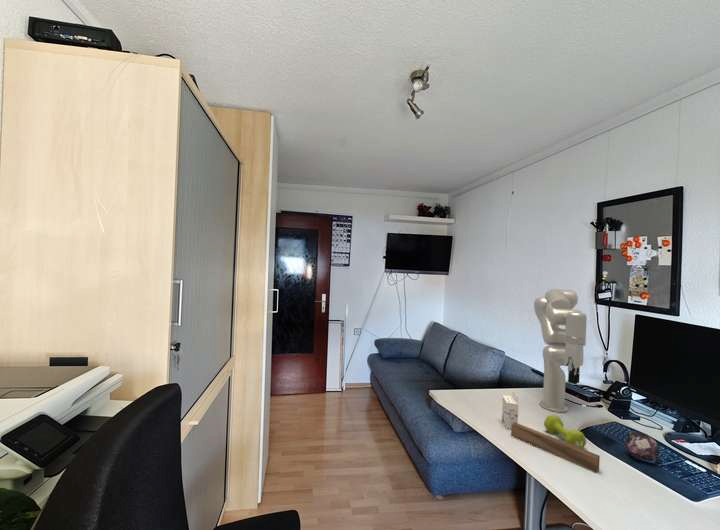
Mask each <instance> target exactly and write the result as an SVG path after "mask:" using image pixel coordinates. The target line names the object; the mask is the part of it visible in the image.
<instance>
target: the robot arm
mask: <svg viewBox="0 0 720 530" xmlns="http://www.w3.org/2000/svg"><path fill="white" fill-rule="evenodd" d="M578 301H579V297H578V294H577V292H576V291H574V290H572V289H559V288H557V289H556V288H552V289H549V290H547V291H546V292H545V294H544V296H541V297H537V298H535V300H534V302H533V303H534V304H533V308H534V313H535V315H536V318H537V319H538V321H539V323H540V330H541V335H542V339H543V343H544V344H546V346H544V347H543V350H542V357H543V358H542V359H543V389H542V390H543V393H542V395H543V396H542V397H543V399H540V400H539V406H540V407H542V408H543V409H545V410H547V411H551V412H556V413H566V412H568V411H569V407H568V405H566V404H565V400H566V378H567V382H568V383H569V384H573V385H578V383H580V377H581V376H580V373H581V372H580V371H581V370H580V367H582V366H583V364H584V347H585V346H586V343H587V338H586V337H587V318H588V317H587V314H585V313H584V312H583V311H581V310H578V309H575V307H576V305H577V304H578ZM560 326H565V328H560ZM561 366H564V367H567V371H568V372H567V373H568V374H567V377H566V373H565V371H564V370H563V369H562V367H561Z"/></svg>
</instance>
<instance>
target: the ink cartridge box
mask: <svg viewBox="0 0 720 530" xmlns="http://www.w3.org/2000/svg"><path fill="white" fill-rule="evenodd" d="M512 395H513V396H511V395H502V406H501V407H502V411H501V412H502V414H501V421H502V420H503V421H502V423H503V422H504V423H503V425H504V427H505V429H506V428H508V429H507V430H511V426H512V424H513V423H514V422H516V423H518V424H519V399H518V395H517V393H516V392H515V390H512Z"/></svg>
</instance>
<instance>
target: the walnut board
mask: <svg viewBox="0 0 720 530" xmlns="http://www.w3.org/2000/svg"><path fill="white" fill-rule="evenodd" d="M510 430H511V431H510V433H511V434H510V436H511V435H512V436H514V437H513V438H515V437H516V438H515V439H517V438H518V439H517V440H519V439H520V440H519V441H522V442H524V441H525V443H526V442H527V443H526V444H529V443H530V444H529V445H531V444H532V445H531V446H533V445H534V447H536V446H537V447H536V448H538V447H539V448H538V449H540V448H541V450H542V449H543V451H545V452H547V453H549V454H552V455H554V456H557V457H559V458H561V459H563V460H566V461H568V462H570V463H572V464H575V465H578V466H580V467H582V468H584V469H587V470H589V471H591V472H594V473H598V472H599V471H600V460H601V459H600V458H601V456H600V455H599V454H596V453H593V452H591V451H589V450H587V449H584V448H583V449H581V448H579V447H576V446H574V445H571V444H569V443H566V441H565V440H561V439H558V438H556V437H554V436H550V435H549V434H547V433H543V432H540V431H539V430H536V429H534V428H531V427H528V426H526V425H523V424H520V423H519V422H518V423H516V422H514V423H513V424H512V426H511V429H510ZM512 436H511V437H512Z"/></svg>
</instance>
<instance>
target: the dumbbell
mask: <svg viewBox="0 0 720 530" xmlns="http://www.w3.org/2000/svg"><path fill="white" fill-rule="evenodd" d="M543 426H544V427H545V429H546V431H547V432H548V433H549V434H552V435H553V434H554V435H555V434H558V435H559V434H560V435H562V436H563V437H564V442H566V443H569V444H571V445H574V446H576V447H579V448H581V449H584V448H585V446H586V444H587V438H586V437H585V434H584V433H583V432H582V431H580V430H579V429H577V430H576V429H571V430H568V429H567V428H565V427H564V423H563V420H562V419H561V417H559V416H558V415H553V414H552V415H551V414H550V415H547V417H546V418H545V419H544V422H543Z"/></svg>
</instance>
